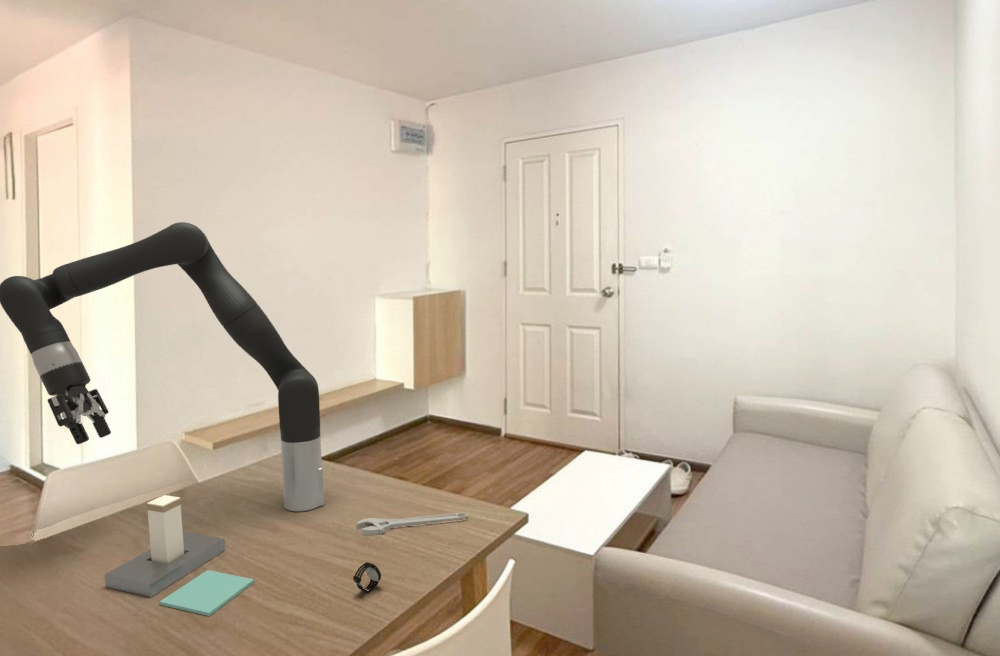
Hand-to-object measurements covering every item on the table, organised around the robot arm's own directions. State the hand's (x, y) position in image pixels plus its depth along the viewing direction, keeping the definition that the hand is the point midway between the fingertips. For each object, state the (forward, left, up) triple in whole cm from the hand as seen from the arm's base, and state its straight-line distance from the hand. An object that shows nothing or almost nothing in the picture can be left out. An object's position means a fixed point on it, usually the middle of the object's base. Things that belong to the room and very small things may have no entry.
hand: (95, 439), depth 121 cm
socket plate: (-14, +14, -24) cm, 31 cm away
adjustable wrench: (-63, +15, -24) cm, 69 cm away
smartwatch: (-49, +37, -24) cm, 66 cm away
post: (-14, +14, -24) cm, 31 cm away
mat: (-22, +27, -24) cm, 42 cm away
